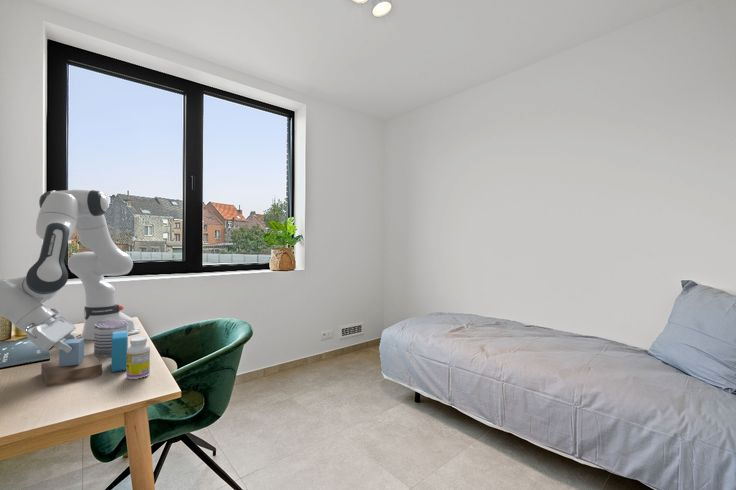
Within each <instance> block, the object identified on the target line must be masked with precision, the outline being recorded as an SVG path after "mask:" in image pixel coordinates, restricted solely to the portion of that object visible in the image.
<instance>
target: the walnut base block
mask: <svg viewBox="0 0 736 490" xmlns="http://www.w3.org/2000/svg"><path fill="white" fill-rule="evenodd" d="M40 369H41V372H40V374H41V377H42V378H43V382H44V384H45V386H46V387H47V388H48V387H51V386H52V387H53V386H55V385H60V384H64V383H69V382H74V381H78V380H83V379H88V378H91V377H92V378H93V377H97V376H101V375H102V374H103V363H102V362H101V361H100V360H99V359H98V358H97V357H96V355H94V353H91V354H86V355H84V360H83V361H82V362H81V363H80V364H79V365H71V366H60V367H59V359H58V360H52V361H48V362H41V368H40Z"/></svg>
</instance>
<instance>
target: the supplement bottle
mask: <svg viewBox="0 0 736 490" xmlns="http://www.w3.org/2000/svg"><path fill="white" fill-rule="evenodd" d="M147 341H148V339H147V337H146V336H138V337H132V338H131V339H130V341H129V342H130V346H128V349H127V367H126V368H127V369H126V370H125V371H126V373H125V374H126V378H127V379H128V380H132V379H135V380H138V379H137V378H141V379H143V378H142V377H144V376H146V375H148V374H149V375H150V373H151V372H150V371H151V367H150V365H151V360H150V359H151V347H150V345H149V344H147ZM149 375H148V376H149ZM146 377H147V376H146ZM144 378H145V377H144Z"/></svg>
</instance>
